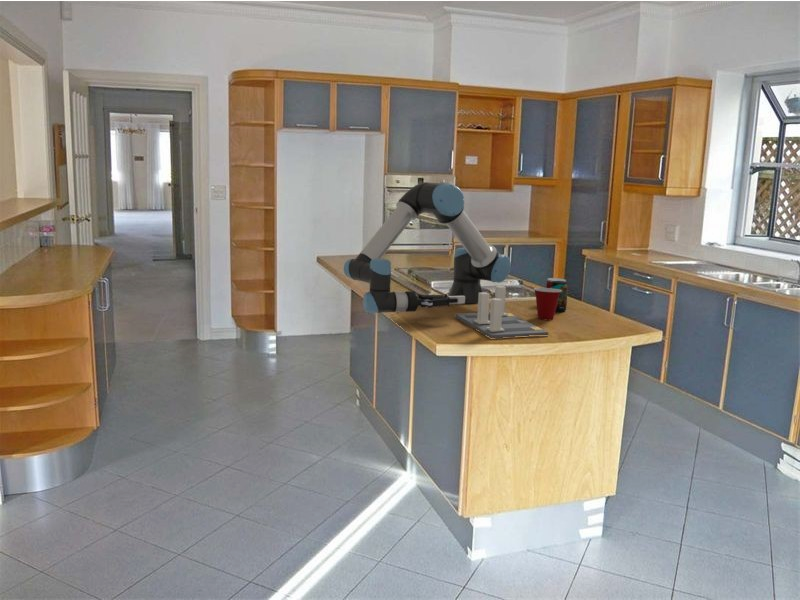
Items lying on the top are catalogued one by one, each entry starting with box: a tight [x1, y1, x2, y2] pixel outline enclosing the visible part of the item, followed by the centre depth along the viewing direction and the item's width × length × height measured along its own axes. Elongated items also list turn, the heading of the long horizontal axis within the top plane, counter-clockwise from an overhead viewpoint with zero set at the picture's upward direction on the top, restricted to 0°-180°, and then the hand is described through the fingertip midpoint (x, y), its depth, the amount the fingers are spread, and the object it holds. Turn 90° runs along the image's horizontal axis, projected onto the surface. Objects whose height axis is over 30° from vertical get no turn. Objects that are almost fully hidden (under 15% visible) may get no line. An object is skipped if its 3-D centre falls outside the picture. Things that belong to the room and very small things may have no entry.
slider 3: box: [494, 285, 508, 316], centre depth 271 cm, size 4×5×11 cm
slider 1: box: [474, 291, 491, 324], centre depth 257 cm, size 4×5×11 cm
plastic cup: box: [533, 287, 562, 321], centre depth 275 cm, size 11×11×12 cm
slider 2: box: [486, 297, 504, 332], centre depth 247 cm, size 4×5×11 cm
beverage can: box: [550, 281, 569, 313], centre depth 290 cm, size 7×7×12 cm
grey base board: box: [455, 311, 549, 339], centre depth 261 cm, size 33×22×2 cm, turn 17°
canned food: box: [546, 277, 567, 288], centre depth 302 cm, size 8×8×11 cm
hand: (464, 299), depth 266 cm, fingers closed
